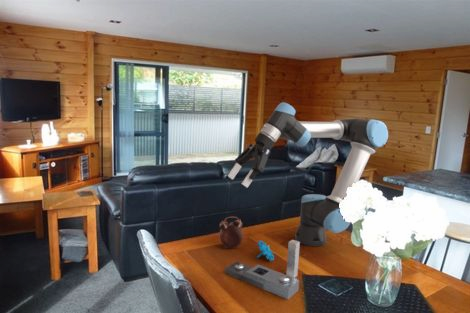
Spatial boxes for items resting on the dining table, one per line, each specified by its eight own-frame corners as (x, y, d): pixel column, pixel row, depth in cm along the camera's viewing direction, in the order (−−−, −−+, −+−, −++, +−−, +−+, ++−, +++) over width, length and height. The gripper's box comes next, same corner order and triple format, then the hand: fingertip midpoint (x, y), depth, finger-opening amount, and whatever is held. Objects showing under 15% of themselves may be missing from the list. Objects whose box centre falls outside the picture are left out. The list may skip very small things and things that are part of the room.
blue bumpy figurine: (273, 262, 144) (257, 242, 145) (262, 270, 145) (247, 250, 147) (277, 254, 154) (263, 236, 156) (267, 262, 155) (253, 244, 157)
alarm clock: (240, 244, 163) (241, 214, 161) (243, 249, 159) (244, 217, 156) (217, 246, 161) (218, 215, 158) (220, 250, 156) (221, 219, 154)
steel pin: (290, 272, 139) (292, 239, 136) (297, 275, 137) (299, 241, 134) (286, 275, 136) (288, 241, 134) (293, 278, 134) (295, 244, 132)
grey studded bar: (237, 265, 143) (237, 254, 142) (298, 290, 126) (299, 277, 125) (224, 272, 136) (225, 261, 135) (287, 299, 120) (288, 286, 119)
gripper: (246, 129, 147) (218, 170, 145) (277, 135, 125) (243, 184, 122) (259, 139, 150) (231, 179, 148) (290, 147, 128) (258, 194, 125)
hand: (236, 181), depth 135 cm, fingers open, 13 cm apart
